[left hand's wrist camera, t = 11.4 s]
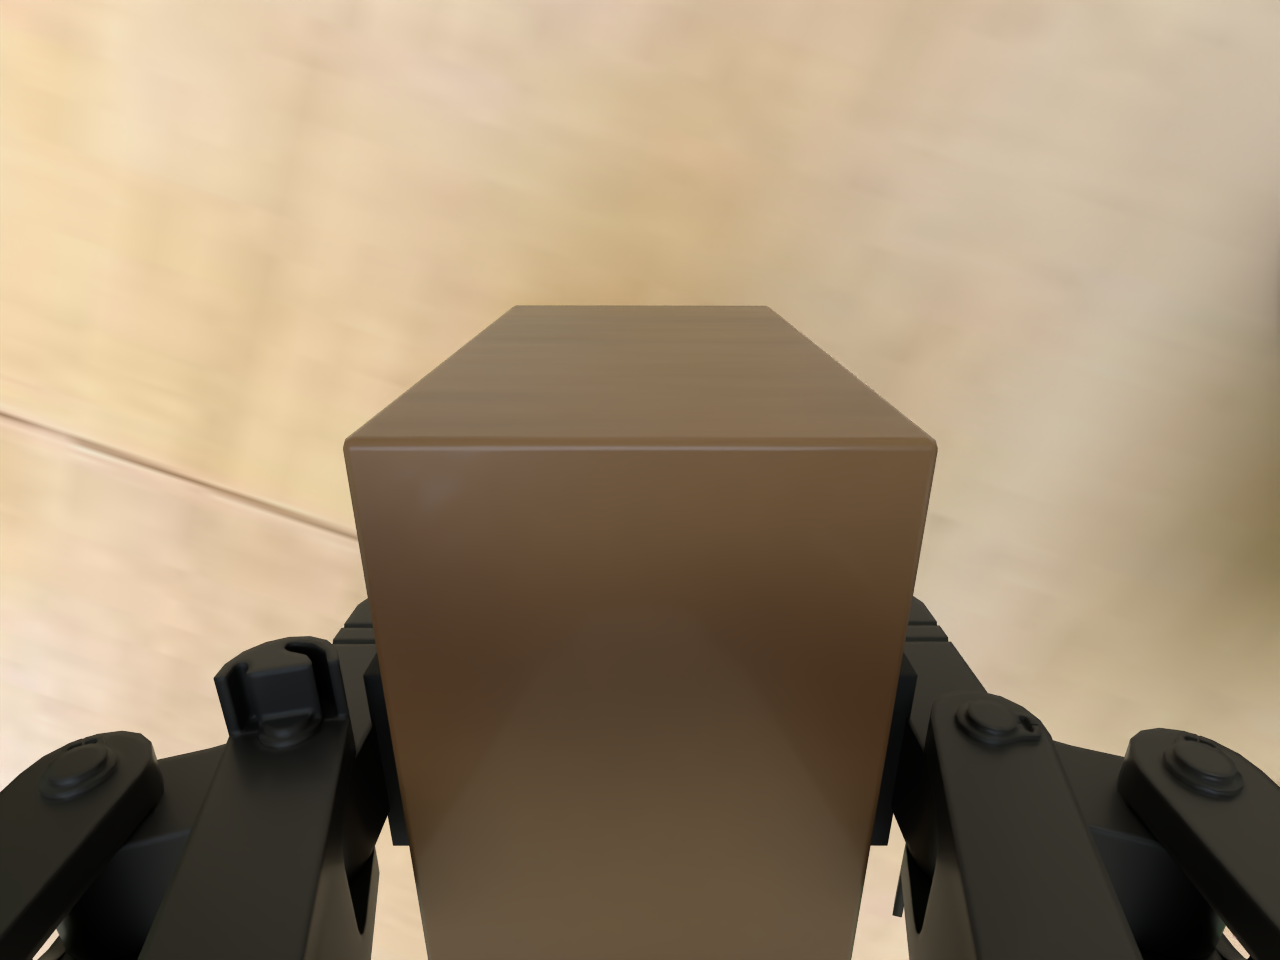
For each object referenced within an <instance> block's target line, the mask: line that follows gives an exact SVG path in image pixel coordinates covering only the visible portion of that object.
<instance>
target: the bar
mask: <svg viewBox="0 0 1280 960" xmlns="http://www.w3.org/2000/svg"><path fill="white" fill-rule="evenodd" d="M937 450H938V448H937V444H936V441H935V440H934V439H933V438H932V437H930V436H929V435H928V434H927V433H925V432H924V431H923V430H922V429H920V428H919V427H918V426H917V425H915V424H914V423H913V422H912V421H910V420H909V419H908V418H907V417H905V416H904V415H903V414H902V413H900V412H899V411H898V410H897V409H895V408H894V407H893V406H892V405H890V404H889V403H888V402H887V401H885V400H884V399H883V398H882V397H880V396H879V395H878V394H877V393H875V392H874V391H873V390H872V389H870V388H869V387H868V386H867V385H865V384H864V383H863V382H862V381H860V380H859V379H858V378H857V377H855V376H854V375H853V374H852V373H850V372H849V371H848V370H847V369H845V368H844V367H843V366H842V365H840V364H839V363H838V362H837V361H835V360H834V359H833V358H832V357H830V356H829V355H828V354H827V353H825V352H824V351H823V350H822V349H820V348H819V347H818V346H817V345H815V344H814V343H813V342H812V341H810V340H809V339H808V338H807V337H805V336H804V335H803V334H802V333H800V332H799V331H798V330H797V329H795V328H794V327H793V326H792V325H790V324H789V323H788V322H787V321H785V320H784V319H783V318H782V317H780V316H779V315H778V314H777V313H775V312H774V311H773V310H772V309H770V308H769V307H767V306H514V307H513V308H511V309H510V310H509V311H507V312H506V313H505V314H504V315H502V316H501V317H500V318H499V319H497V320H496V321H495V322H494V323H492V324H491V325H490V326H488V327H487V328H486V329H485V330H483V331H482V332H481V333H480V334H478V335H477V336H476V337H475V338H473V339H472V340H471V341H469V342H468V343H467V344H466V345H464V346H463V347H462V348H461V349H459V350H458V351H457V352H455V353H454V354H453V355H452V356H450V357H449V358H448V359H447V360H445V361H444V362H443V363H442V364H440V365H439V366H438V367H436V368H435V369H434V370H433V371H431V372H430V373H429V374H428V375H426V376H425V377H424V378H423V379H421V380H420V381H419V382H417V383H416V384H415V385H414V386H412V387H411V388H410V389H409V390H407V391H406V392H405V393H403V394H402V395H401V396H400V397H398V398H397V399H396V400H395V401H393V402H392V403H391V404H390V405H388V406H387V407H386V408H384V409H383V410H382V411H381V412H379V413H378V414H377V415H376V416H374V417H373V418H372V419H371V420H369V421H368V422H367V423H365V424H364V425H363V426H362V427H360V428H359V429H358V430H357V431H355V432H354V433H353V434H351V435H350V436H349V437H348V438H346V439H345V442H344V446H343V451H344V457H345V463H346V469H347V475H348V481H349V487H350V493H351V499H352V505H353V511H354V517H355V523H356V529H357V535H358V541H359V547H360V553H361V559H362V565H363V571H364V577H365V583H366V589H367V595H368V601H369V607H370V613H371V619H372V625H373V631H374V637H375V643H376V649H377V655H378V661H379V667H380V673H381V679H382V685H383V691H384V697H385V703H386V709H387V715H388V721H389V727H390V733H391V739H392V745H393V751H394V757H395V763H396V769H397V775H398V781H399V787H400V793H401V799H402V805H403V811H404V817H405V823H406V829H407V835H408V841H409V847H410V853H411V859H412V865H413V871H414V877H415V883H416V889H417V895H418V901H419V907H420V913H421V919H422V925H423V931H424V937H425V943H426V949H427V955H428V960H851V957H852V951H853V945H854V939H855V933H856V927H857V922H858V916H859V910H860V904H861V898H862V892H863V886H864V880H865V874H866V869H867V863H868V857H869V851H870V845H871V839H872V833H873V827H874V822H875V816H876V810H877V804H878V798H879V792H880V786H881V780H882V774H883V769H884V763H885V757H886V751H887V745H888V739H889V733H890V727H891V721H892V716H893V710H894V704H895V698H896V692H897V686H898V680H899V674H900V669H901V663H902V657H903V651H904V645H905V639H906V633H907V627H908V621H909V616H910V610H911V604H912V598H913V592H914V586H915V580H916V574H917V568H918V563H919V557H920V551H921V545H922V539H923V533H924V527H925V521H926V515H927V510H928V504H929V498H930V492H931V486H932V480H933V474H934V468H935V463H936V457H937Z"/></svg>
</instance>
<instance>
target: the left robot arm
mask: <svg viewBox="0 0 1280 960" xmlns="http://www.w3.org/2000/svg"><path fill="white" fill-rule="evenodd" d="M214 682H215V685H216V689H217V693H218V696H219V700H220V704H221V707H222V711H223V715H224V718H225V722H226V726H227V729H228V733H229V738H228V741H227V743H226V744H223V745H220V746H216V747H213V748H209V749H205V750H200V751H196V752H191V753H187V754H182V755H177V756H173V757H168V758H164V759H159V760H157V758H156V755H155V752H154V749H153V746H152V743H151V741H149V740H148V739H147V738H146V737H144V736H143V735H142V734H140V733H134V732H127V731H117V732H109V733H101V734H96V735H93V736H89V737H85V738H84V739H79V740H77V741H74V742H71V743H69V744H67V745H65V746H63V747H61V748H59V749H57V750H55V751H53V752H51V753H49V754H47V755H45V756H43V757H42V758H41V759H39V760H38V761H37V762H35V763H34V764H33V765H31V766H30V767H29V768H27V769H26V770H25V771H23V772H22V773H21V774H19V775H18V776H17V777H16V778H15V779H14V780H13V781H12V782H11V783H10V784H9V785H8V786H7V787H5V788H4V789H3V790H2V791H1V792H0V960H33V959H32V958H33V957H34V956H35V955H36V953H37V952H38V951H39V950H40V948H41V947H42V946H43V944H44V943H45V942H46V941H47V939H48V938H49V937H50V936H51V934H52V933H53V932H54V931H55V929H57V931H58V933H59V936H58V938H57V939H56V940H55V941H54V943H53V944H52V945H51V947H50V948H49V949H48V950H47V951H46V952H45V953H44V954H43V955H42V956H41V957H40V958H39V959H38V960H371V952H372V942H373V932H374V922H375V912H376V902H377V892H378V882H379V867H378V860H377V855H376V849H375V844H376V842H377V839H378V837H379V835H380V832H381V830H382V827H383V825H384V823H385V820H386V818H387V815H388V819H389V825H390V831H391V836H392V842H393V846H409V841H408V835H407V829H406V823H405V817H404V811H403V805H402V799H401V793H400V787H399V781H398V775H397V769H396V763H395V757H394V751H393V745H392V739H391V733H390V727H389V721H388V715H387V709H386V703H385V697H384V691H383V685H382V679H381V673H380V667H379V661H378V655H377V649H376V643H375V637H374V631H373V625H372V619H371V613H370V607H369V601H368V598H367V599H366V600H364V601H363V602H362V603H360V604H359V605H358V606H357V607H356V608H355V610H354V611H353V613H352V614H351V615H350V617H349V618H348V620H347V621H346V622H345V624H344V628H341V630H340V631H339V632H338V634H337V635H336V637H335V638H334V639H333V644H331V643H330V642H329V641H327V640H324V639H320V638H316V637H311V636H304V637H287V638H282V639H278V640H274V641H269V642H265V643H263V644H261V645H258V646H256V647H253V648H251V649H249V650H246V651H244V652H242V653H241V654H239V655H238V656H236V657H235V658H233V659H232V660H230V661H229V662H227V663H226V664H225V665H224V666H223V667H222V668H221V670H220V671H219V672H218V673H217V675H216V676H215V677H214ZM893 813H894V815H895V818H896V820H897V823H898V825H899V827H900V830H901V832H902V835H903V837H904V839H905V842H906V844H905V849H904V855H903V860H902V865H901V870H900V876H899V881H898V886H897V891H896V897H895V902H894V909H893V915H894V916H898V917H902V913H903V908H904V910H905V920H906V930H907V940H908V950H909V960H1280V787H1279V786H1278V785H1277V784H1276V783H1275V782H1273V781H1272V780H1271V779H1270V778H1269V777H1268V776H1267V775H1266V774H1265V773H1264V772H1263V771H1261V770H1260V769H1259V768H1257V767H1256V766H1255V765H1253V764H1252V763H1251V762H1249V761H1248V760H1247V759H1245V758H1244V757H1243V756H1241V755H1240V754H1238V753H1236V752H1234V751H1232V750H1230V749H1229V748H1227V747H1225V746H1223V745H1221V744H1219V743H1217V742H1215V741H1213V740H1210V739H1208V738H1205V737H1202V736H1198V735H1196V734H1192V733H1188V732H1185V731H1179V730H1172V729H1164V728H1156V729H1149V730H1142V731H1140V732H1139V733H1137V734H1136V735H1135V736H1134V737H1132V738H1131V739H1130V742H1129V745H1128V748H1127V751H1126V754H1125V757H1121V756H1117V755H1112V754H1107V753H1103V752H1098V751H1094V750H1089V749H1084V748H1080V747H1075V746H1071V745H1067V744H1064V743H1060V742H1057V741H1053V740H1052V737H1051V735H1050V734H1049V732H1048V731H1047V729H1046V728H1045V726H1044V725H1043V724H1042V722H1041V721H1040V720H1039V719H1038V718H1037V717H1035V716H1034V715H1033V714H1031V713H1030V712H1029V711H1028V710H1026V709H1025V708H1024V707H1022V706H1020V705H1018V704H1016V703H1014V702H1012V701H1010V700H1008V699H1005V698H1003V697H1001V696H997V695H993V694H989V693H987V691H986V690H985V688H984V687H983V686H982V684H981V683H980V681H979V680H978V679H977V677H976V676H975V675H974V673H973V672H972V670H971V669H970V668H969V666H968V665H967V663H966V662H965V661H964V659H963V658H962V656H961V655H960V654H959V652H958V651H957V649H956V648H955V647H954V645H953V644H952V642H948V637H947V635H946V634H945V633H944V631H943V630H942V628H941V627H940V626H937V621H936V620H935V619H934V617H933V616H932V614H931V613H930V612H929V610H928V609H927V608H926V606H925V605H924V603H923V602H921V601H920V600H918V599H917V598H915V597H914V596H913V598H912V604H911V610H910V616H909V621H908V627H907V633H906V639H905V645H904V651H903V657H902V663H901V669H900V674H899V680H898V686H897V692H896V698H895V704H894V710H893V716H892V721H891V727H890V733H889V739H888V745H887V751H886V757H885V763H884V769H883V774H882V780H881V786H880V792H879V798H878V804H877V810H876V816H875V822H874V827H873V833H872V839H871V845H874V846H887V845H888V839H889V834H890V828H891V823H892V817H893ZM1225 926H1227V927H1228V929H1229V930H1230V931H1231V932H1232V934H1233V935H1234V936H1235V937H1236V939H1237V940H1238V941H1239V942H1240V944H1241V945H1242V946H1243V947H1244V948H1245V950H1246V951H1247V952H1248V953H1249V955H1250V957H1249V958H1248V959H1246V958H1244V957H1243V956H1242V955H1241V954H1240V953H1239V952H1238V951H1237V950H1236V949H1235V948H1234V947H1233V946H1232V944H1231V943H1230V942H1229V940H1228V939H1227V938H1226V937H1225V935H1224V934H1223V931H1224V928H1225Z"/></svg>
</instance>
